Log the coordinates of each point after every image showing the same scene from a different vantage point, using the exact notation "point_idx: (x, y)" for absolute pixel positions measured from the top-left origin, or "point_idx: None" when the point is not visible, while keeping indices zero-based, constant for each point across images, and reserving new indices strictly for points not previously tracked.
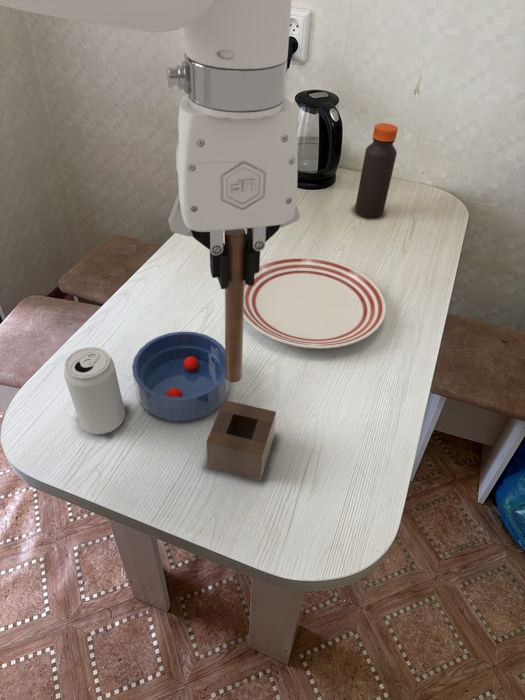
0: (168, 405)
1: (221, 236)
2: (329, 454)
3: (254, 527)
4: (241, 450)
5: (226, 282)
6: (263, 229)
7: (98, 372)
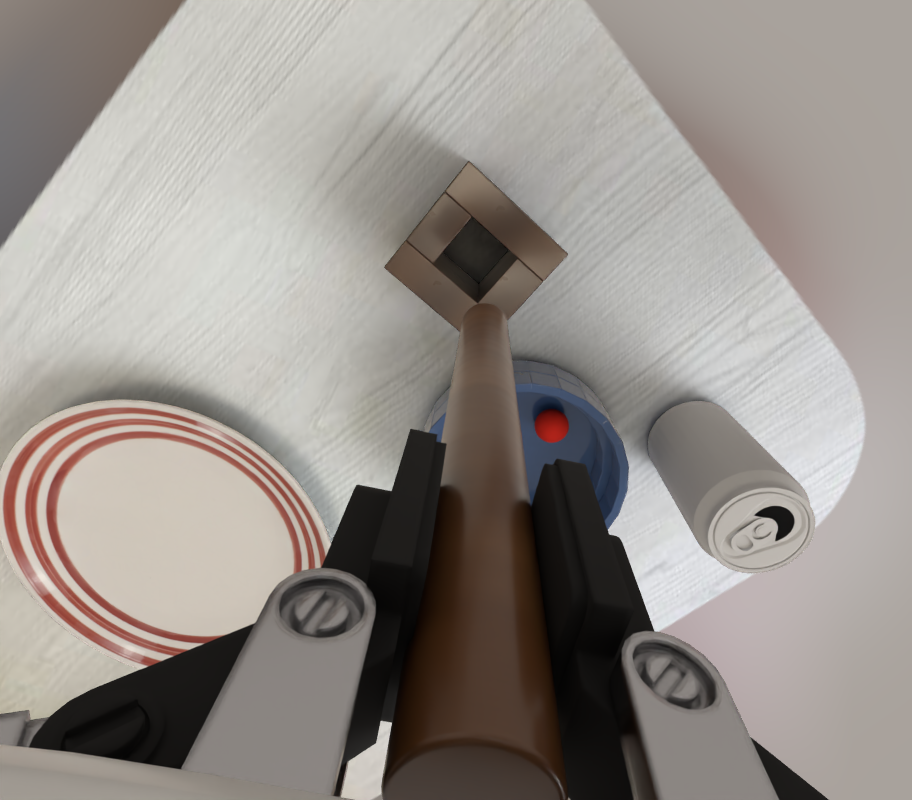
0: (586, 395)
1: (672, 789)
2: (303, 161)
3: (531, 62)
4: (506, 197)
5: (564, 477)
6: (226, 740)
7: (752, 494)
